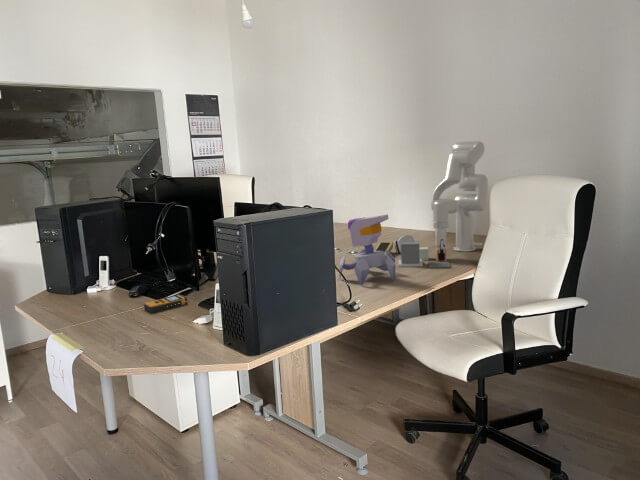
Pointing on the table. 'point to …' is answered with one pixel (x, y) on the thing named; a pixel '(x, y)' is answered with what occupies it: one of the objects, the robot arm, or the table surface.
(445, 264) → the mat
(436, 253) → the terracotta block
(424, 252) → the grey block
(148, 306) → the electronic device
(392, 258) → the robotic device
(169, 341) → the table surface
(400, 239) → the white curved block
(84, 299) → the table surface
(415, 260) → the mounted unit
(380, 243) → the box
